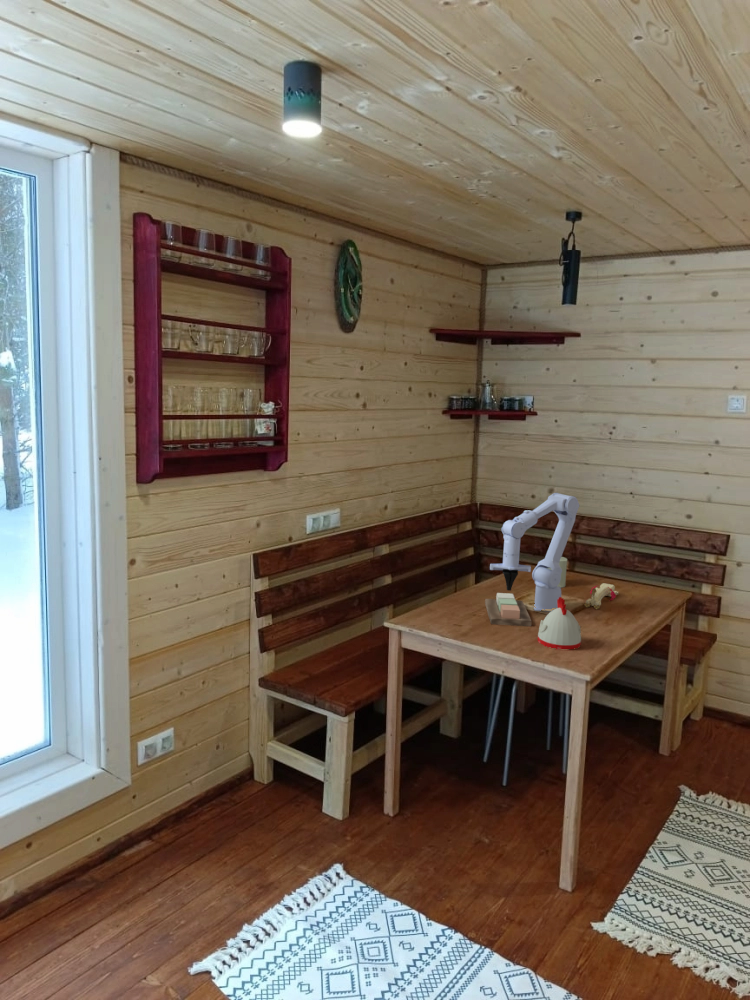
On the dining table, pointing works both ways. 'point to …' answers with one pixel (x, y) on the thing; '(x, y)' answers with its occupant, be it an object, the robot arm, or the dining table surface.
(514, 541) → the robot arm
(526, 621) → the brown tray
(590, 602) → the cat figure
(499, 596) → the cream button
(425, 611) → the dining table surface
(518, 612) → the terracotta button
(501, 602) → the sage button
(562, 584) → the pale green cup
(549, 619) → the kitchen timer
